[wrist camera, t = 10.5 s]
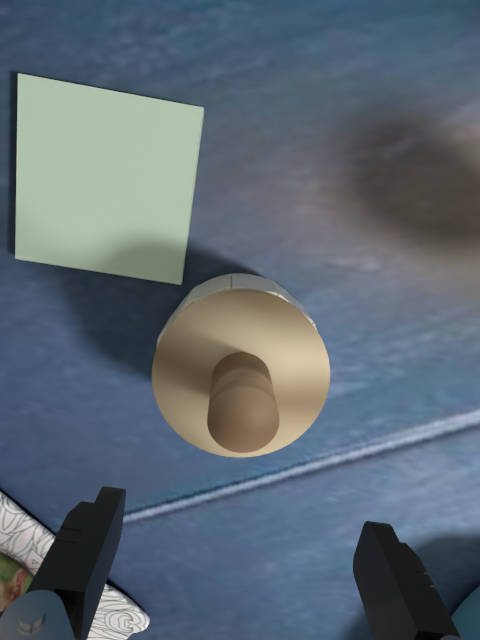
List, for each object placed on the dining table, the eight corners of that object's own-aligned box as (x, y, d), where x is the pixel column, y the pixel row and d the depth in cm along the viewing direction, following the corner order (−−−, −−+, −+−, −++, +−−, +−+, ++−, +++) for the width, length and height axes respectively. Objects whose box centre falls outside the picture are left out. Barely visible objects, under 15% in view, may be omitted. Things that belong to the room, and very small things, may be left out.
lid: (165, 274, 24) (143, 296, 18) (343, 303, 25) (378, 333, 19) (147, 435, 27) (122, 499, 21) (306, 456, 27) (327, 525, 21)
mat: (24, 77, 26) (17, 73, 25) (204, 110, 27) (203, 107, 26) (20, 257, 29) (15, 258, 29) (182, 282, 30) (180, 284, 29)
